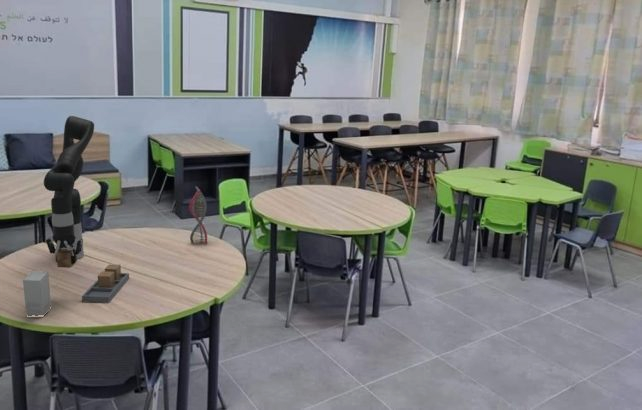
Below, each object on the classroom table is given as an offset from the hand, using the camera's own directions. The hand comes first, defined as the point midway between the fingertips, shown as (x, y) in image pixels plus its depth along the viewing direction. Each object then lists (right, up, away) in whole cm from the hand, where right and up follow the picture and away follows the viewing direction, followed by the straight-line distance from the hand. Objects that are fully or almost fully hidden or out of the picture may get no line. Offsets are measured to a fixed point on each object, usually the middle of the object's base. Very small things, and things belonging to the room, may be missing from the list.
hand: (66, 263), depth 219 cm
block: (0, -1, 0) cm, 1 cm away
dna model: (+37, +3, +70) cm, 79 cm away
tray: (+12, -12, +12) cm, 20 cm away
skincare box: (-5, -18, -11) cm, 21 cm away
